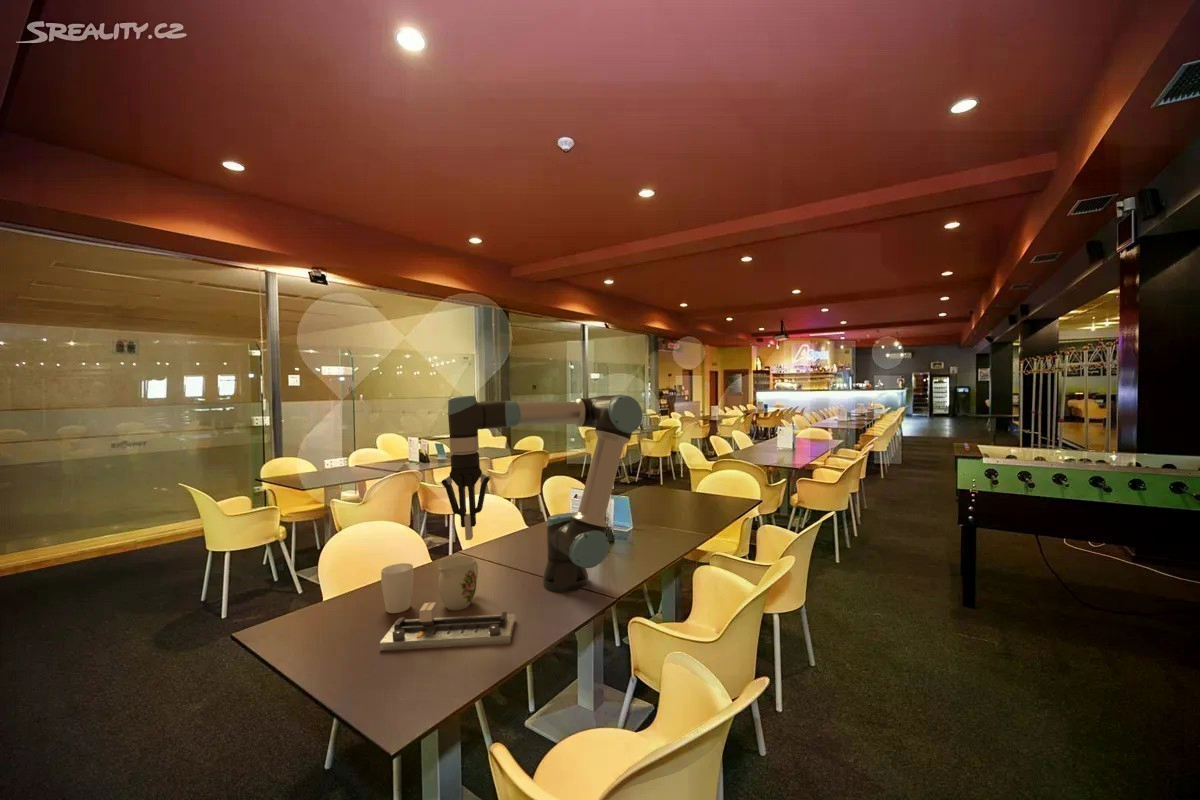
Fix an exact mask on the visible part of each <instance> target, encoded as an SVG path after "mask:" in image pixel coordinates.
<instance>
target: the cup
mask: <svg viewBox="0 0 1200 800" xmlns="http://www.w3.org/2000/svg"><path fill="white" fill-rule="evenodd" d="M380 573H381V575H380V578H381V579H380V583H381V589H382V594H383V595H382V596H383V601H384V606H385V612H387V613H389V614H399V613H402V612H405V611H407V610H409V609H410V608H411V603H412V595H413V588H414V587H413V586H414V585H413V584H414V579H415V578H414V577H415V576H414V565H413V564H411V563H406V562H405V563H396V564H392V565H388V566H385V567H384V568H382V569H381V572H380Z"/></svg>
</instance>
